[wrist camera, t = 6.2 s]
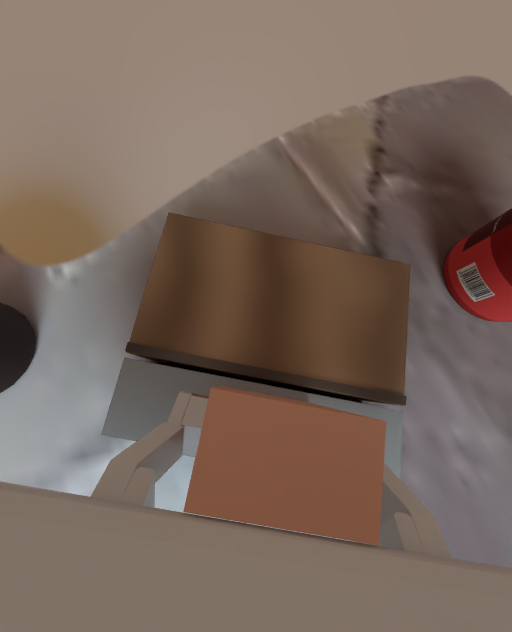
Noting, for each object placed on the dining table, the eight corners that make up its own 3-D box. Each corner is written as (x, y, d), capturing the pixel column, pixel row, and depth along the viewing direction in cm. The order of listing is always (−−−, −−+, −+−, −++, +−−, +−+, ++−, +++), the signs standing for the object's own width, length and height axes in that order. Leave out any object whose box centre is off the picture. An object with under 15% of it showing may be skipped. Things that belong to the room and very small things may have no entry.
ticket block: (372, 289, 23) (412, 263, 18) (363, 400, 21) (405, 405, 16) (182, 249, 22) (167, 210, 17) (151, 359, 20) (124, 351, 15)
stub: (364, 404, 20) (568, 437, 8) (359, 463, 19) (583, 602, 7) (149, 363, 20) (13, 330, 7) (133, 422, 19) (-55, 495, 6)
